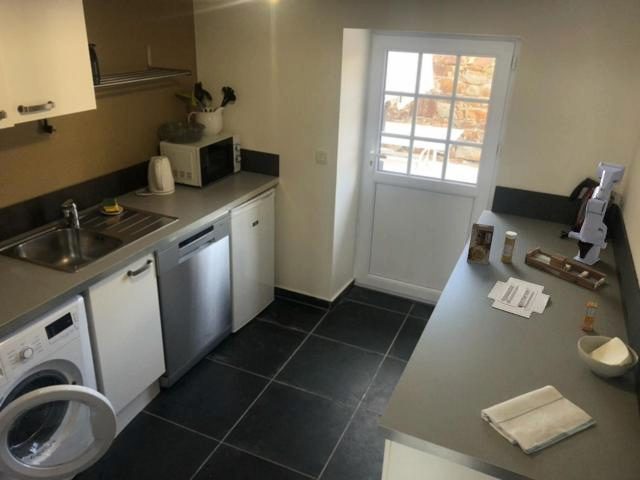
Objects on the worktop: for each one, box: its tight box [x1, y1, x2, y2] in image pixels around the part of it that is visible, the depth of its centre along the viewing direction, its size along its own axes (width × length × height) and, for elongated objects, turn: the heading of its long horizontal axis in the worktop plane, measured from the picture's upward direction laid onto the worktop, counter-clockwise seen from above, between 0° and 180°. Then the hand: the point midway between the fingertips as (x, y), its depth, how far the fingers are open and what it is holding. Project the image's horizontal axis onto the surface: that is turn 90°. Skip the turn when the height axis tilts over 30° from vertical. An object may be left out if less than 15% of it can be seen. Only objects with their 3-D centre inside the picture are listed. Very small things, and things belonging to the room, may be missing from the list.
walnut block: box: [549, 252, 569, 269], centre depth 227 cm, size 5×5×4 cm
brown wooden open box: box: [523, 246, 607, 291], centre depth 226 cm, size 11×30×4 cm, turn 42°
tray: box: [487, 277, 551, 319], centre depth 206 cm, size 20×28×4 cm
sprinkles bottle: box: [500, 230, 518, 264], centre depth 232 cm, size 5×5×13 cm
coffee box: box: [466, 223, 495, 266], centre depth 231 cm, size 9×6×16 cm
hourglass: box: [581, 301, 598, 332], centre depth 186 cm, size 3×3×10 cm
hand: (582, 258), depth 219 cm, fingers closed
